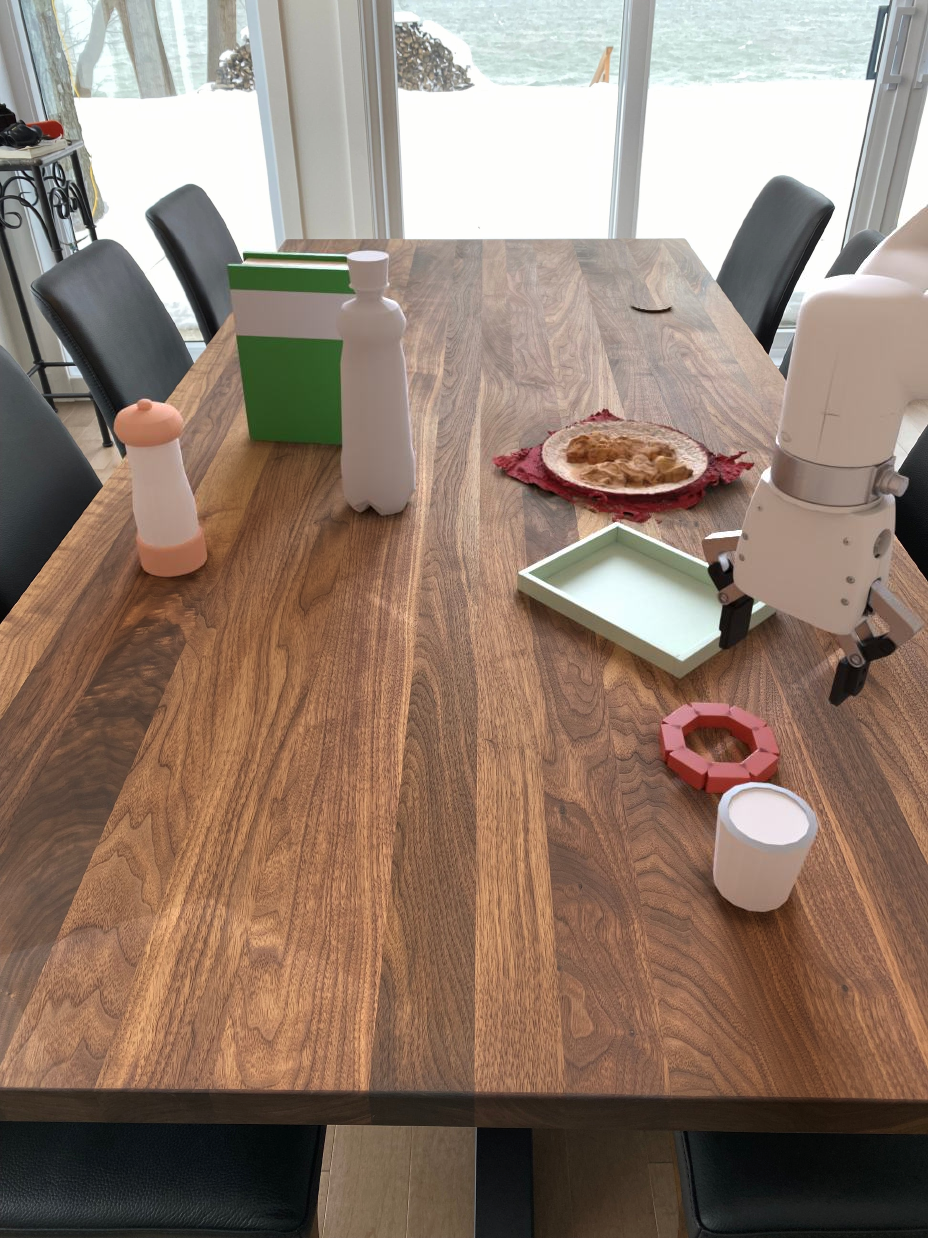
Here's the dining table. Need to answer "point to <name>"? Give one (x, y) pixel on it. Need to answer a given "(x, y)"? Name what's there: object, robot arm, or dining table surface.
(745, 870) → the white cylinder
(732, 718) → the ring
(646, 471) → the plate with food
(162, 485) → the pepper shaker
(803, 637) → the dining table surface
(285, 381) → the hardback book
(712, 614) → the tray
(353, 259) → the bottle
